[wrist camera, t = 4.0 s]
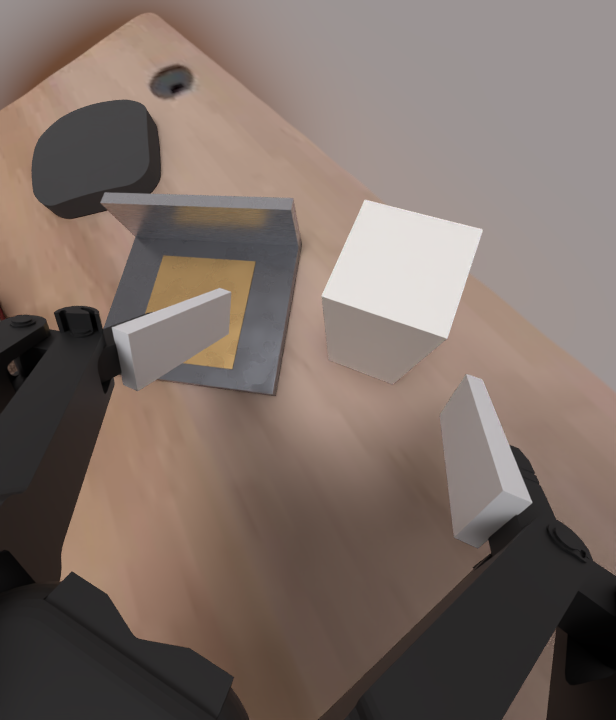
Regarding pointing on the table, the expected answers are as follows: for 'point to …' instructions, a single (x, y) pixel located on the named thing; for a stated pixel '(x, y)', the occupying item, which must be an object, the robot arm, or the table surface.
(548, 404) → the table surface
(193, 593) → the table surface
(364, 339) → the cream block
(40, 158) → the media streaming box
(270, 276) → the plate
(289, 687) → the table surface
